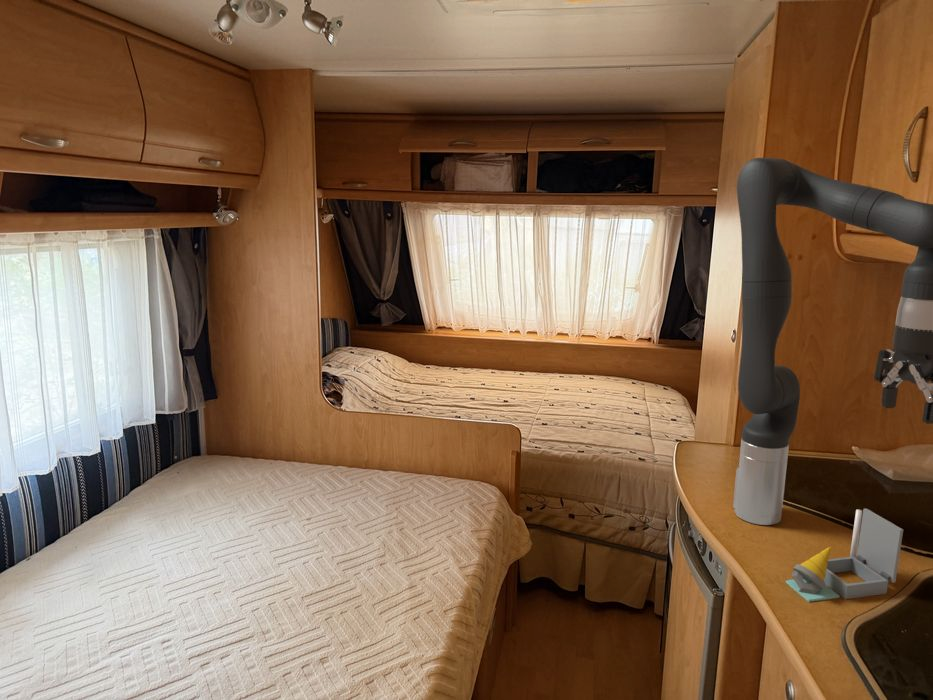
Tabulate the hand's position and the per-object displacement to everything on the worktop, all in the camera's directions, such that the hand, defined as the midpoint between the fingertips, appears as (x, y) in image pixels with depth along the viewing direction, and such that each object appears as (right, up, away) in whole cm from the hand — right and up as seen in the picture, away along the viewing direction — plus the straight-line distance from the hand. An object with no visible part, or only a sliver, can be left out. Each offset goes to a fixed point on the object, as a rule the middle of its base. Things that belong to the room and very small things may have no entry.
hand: (908, 415), depth 116 cm
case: (-8, -30, +4) cm, 31 cm away
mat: (-17, -31, 0) cm, 35 cm away
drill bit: (-17, -31, +1) cm, 35 cm away
